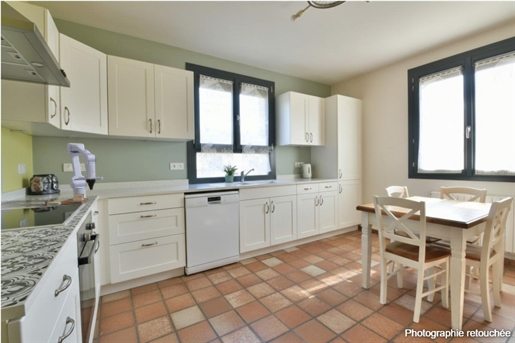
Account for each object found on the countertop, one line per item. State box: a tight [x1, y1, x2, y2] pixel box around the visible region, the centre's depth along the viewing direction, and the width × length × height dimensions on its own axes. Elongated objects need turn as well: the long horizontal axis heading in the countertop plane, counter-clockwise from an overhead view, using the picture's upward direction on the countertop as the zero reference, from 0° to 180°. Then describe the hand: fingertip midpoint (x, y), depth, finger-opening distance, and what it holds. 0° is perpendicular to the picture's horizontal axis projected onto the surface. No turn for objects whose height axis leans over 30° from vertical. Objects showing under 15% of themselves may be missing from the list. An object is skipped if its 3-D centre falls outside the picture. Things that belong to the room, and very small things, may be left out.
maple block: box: [73, 194, 84, 201], centre depth 167 cm, size 5×5×4 cm
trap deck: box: [44, 197, 89, 207], centre depth 165 cm, size 16×20×4 cm
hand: (91, 189), depth 170 cm, fingers closed
